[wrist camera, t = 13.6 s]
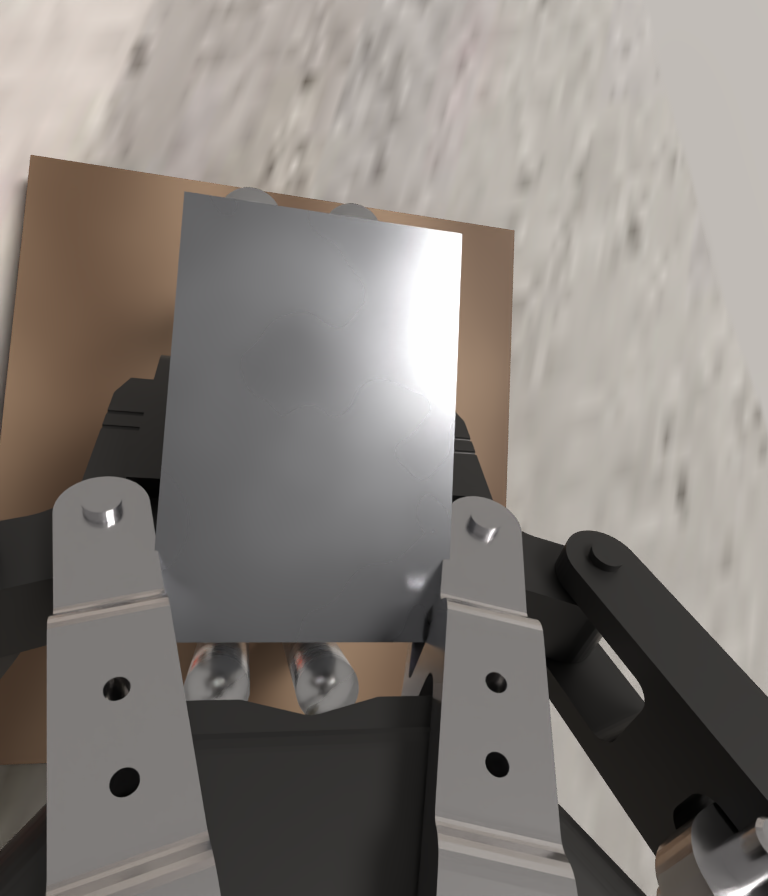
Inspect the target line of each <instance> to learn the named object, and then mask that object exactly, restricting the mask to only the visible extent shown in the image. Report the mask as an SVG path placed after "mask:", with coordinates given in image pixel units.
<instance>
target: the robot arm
mask: <svg viewBox="0 0 768 896" xmlns="http://www.w3.org/2000/svg"><path fill="white" fill-rule="evenodd" d="M170 358H171V356H167V355H161V356H160V359H159V362H158V366H157V369H156V373H155V376H154V380H153V379H142V378H130V379H129V380H128V381H126V382H125V383H124V384H123V385H122V386H121V387H119V388H118V389H117V390H116V391H115V392H114V393H113V396H112V399H111V402H110V404H109V407H108V412H107V413H106V415H105V418H104V421H103V424H102V428H101V429H100V432H99V435H98V437H97V440H96V443H95V446H94V448H93V451H92V454H91V457H90V460H89V462H88V465H87V468H86V471H85V473H84V476H83V479H82V481H81V482H79V483H76V484H75V485H73V486H71V487H69V488H68V489H67V490H65V491H64V492H63V493H62V494H61V495H60V496H59V497H58V499H57V500H56V502H55V504H54V507H53V508H51V509H49V510H46V511H43V512H40V513H37V514H33V515H29V516H23V517H18V518H12V519H7V520H1V521H0V679H1V678H2V676H3V675H4V674H5V673H6V671H7V670H8V669H9V667H10V666H11V665H12V664H13V662H14V661H15V660H16V658H17V657H18V655H19V654H20V652H24V651H27V650H31V649H35V648H38V647H42V646H46V645H47V803H46V804H45V805H44V806H43V807H42V808H41V809H40V810H39V811H38V812H37V813H36V814H35V816H34V817H33V818H32V819H31V820H30V821H29V822H28V823H27V824H26V825H25V826H24V827H23V828H22V829H21V830H20V831H19V832H18V833H17V834H16V835H15V836H14V837H13V838H12V839H11V840H10V841H9V842H8V844H7V845H6V846H5V847H4V848H3V849H2V850H1V851H0V896H646V895H645V893H644V892H643V891H642V890H641V889H640V888H639V887H638V886H637V885H636V884H635V883H634V882H633V881H632V880H631V879H630V878H629V877H628V876H627V875H626V874H625V873H624V872H623V871H622V870H621V868H620V867H619V866H618V865H617V864H616V863H615V862H614V861H613V860H612V859H611V858H610V857H609V856H608V855H607V854H606V853H605V852H604V851H603V850H602V849H601V848H600V847H599V846H598V844H597V843H596V842H595V841H594V840H593V839H592V838H591V837H590V836H589V835H588V834H587V833H586V832H585V831H584V830H583V829H582V828H581V827H580V826H579V825H578V824H577V823H576V822H575V820H574V819H573V818H572V817H571V816H570V815H569V814H568V813H567V812H566V811H565V810H564V809H563V808H562V807H561V806H560V805H559V804H558V798H557V787H556V775H555V763H554V752H553V740H552V728H551V717H550V705H549V699H550V701H551V702H552V703H553V705H554V706H555V708H556V709H557V711H558V712H559V714H560V715H561V717H562V718H563V720H564V721H565V723H566V724H567V726H568V727H569V729H570V730H571V732H572V733H573V735H574V736H575V738H576V739H577V741H578V742H579V743H580V745H581V746H582V748H583V749H584V751H585V752H586V754H587V755H588V757H589V758H590V760H591V761H592V763H593V764H594V766H595V767H596V769H597V770H598V772H599V773H600V775H601V776H602V778H603V779H604V781H605V782H606V784H607V785H608V786H609V788H610V789H611V791H612V792H613V794H614V795H615V797H616V798H617V800H618V801H619V803H620V804H621V806H622V807H623V809H624V810H625V812H626V813H627V815H628V816H629V818H630V819H631V821H632V822H633V824H634V825H635V826H636V828H637V829H638V831H639V832H640V834H641V835H642V837H643V838H644V840H645V841H646V843H647V844H648V846H649V847H650V849H651V850H652V852H653V853H654V855H655V856H656V859H655V870H656V877H657V881H658V885H659V887H658V889H657V896H768V697H767V696H766V695H765V694H764V692H763V691H762V690H761V689H760V688H759V687H758V686H757V685H756V684H755V683H754V682H753V681H752V680H751V679H750V677H749V676H748V675H747V674H746V673H745V672H744V671H743V670H742V669H741V668H740V667H739V666H738V665H737V664H736V662H735V661H734V660H733V659H732V658H731V657H730V656H729V655H728V654H727V653H726V652H725V651H724V650H723V649H722V647H721V646H720V645H719V644H718V643H717V642H716V641H715V640H714V639H713V638H712V637H711V636H710V635H709V634H708V632H707V631H706V630H705V629H704V628H703V627H702V626H701V625H700V624H699V623H698V622H697V621H696V620H695V619H694V617H693V616H692V615H691V614H690V613H689V612H688V611H687V610H686V609H685V608H684V607H683V606H682V605H681V604H680V602H679V601H678V600H677V599H676V598H675V597H674V596H673V595H672V594H671V593H670V592H669V591H668V590H667V589H666V587H665V586H664V585H663V584H662V583H661V582H660V581H659V580H658V579H657V578H656V577H655V576H654V575H653V574H652V572H651V571H650V570H649V569H648V568H647V567H646V566H645V565H644V564H643V563H642V562H641V561H640V560H639V559H638V557H637V556H636V555H635V554H634V553H633V552H632V551H631V550H630V549H629V548H628V547H627V546H625V545H624V544H623V543H622V542H620V541H618V540H617V539H615V538H613V537H611V536H609V535H607V534H604V533H601V532H597V531H580V532H577V533H575V534H573V535H572V536H571V537H570V538H569V539H568V541H567V542H566V544H565V546H564V545H561V544H557V543H554V542H551V541H547V540H544V539H541V538H537V537H534V536H532V535H529V534H527V533H524V532H522V531H521V527H520V524H519V522H518V520H517V519H516V517H515V516H514V515H513V514H512V513H511V512H510V511H509V510H508V509H507V508H505V507H504V506H503V505H501V504H499V503H497V502H495V501H493V499H492V496H491V493H490V490H489V488H488V485H487V482H486V479H485V477H484V474H483V471H482V468H481V466H480V463H479V460H478V457H477V455H475V449H474V446H473V444H472V441H470V435H469V433H468V430H467V427H466V424H465V421H464V420H463V419H462V418H461V417H460V416H459V415H458V414H457V413H456V412H455V434H454V461H453V487H452V514H451V540H450V559H443V562H442V566H441V571H440V575H439V580H438V585H437V589H436V594H435V598H434V603H433V612H432V619H431V624H430V629H429V633H428V637H427V640H426V642H408V647H407V655H406V664H405V672H404V681H403V688H402V694H401V696H385V697H375V698H372V699H368V700H365V701H361V702H358V703H355V704H351V705H348V706H344V707H341V708H337V709H334V710H331V711H327V712H324V713H320V714H316V715H305V714H300V713H296V712H291V711H287V710H283V709H279V708H274V707H270V706H266V705H261V704H257V703H253V702H248V701H244V700H240V699H239V700H190V701H186V698H185V692H184V686H183V680H182V674H181V668H180V662H179V656H178V650H177V644H176V638H175V632H174V626H173V620H172V614H171V608H170V603H169V598H168V594H167V593H165V590H164V585H163V578H162V572H161V566H160V560H159V554H158V551H154V550H155V538H156V526H157V514H158V502H159V490H160V478H161V466H162V454H163V442H164V430H165V418H166V406H167V394H168V382H169V370H170ZM602 637H603V638H604V639H605V640H606V641H607V643H608V644H609V645H610V646H611V648H612V649H613V650H614V651H615V653H616V654H617V655H618V656H619V658H620V659H621V660H622V662H623V663H624V664H625V665H626V667H627V668H628V669H629V670H630V672H631V673H632V674H633V675H634V677H635V678H636V679H637V681H638V682H639V684H640V686H641V688H642V690H643V693H644V698H645V702H644V701H643V700H642V698H641V697H640V696H639V695H638V693H637V692H636V691H635V689H634V688H633V687H632V686H631V684H630V683H629V682H628V680H627V679H626V678H625V677H624V675H623V674H622V673H621V672H620V670H619V669H618V668H617V666H616V665H615V664H614V663H613V661H612V660H611V659H610V657H609V656H608V655H607V654H606V652H605V651H604V650H603V649H602V647H601V646H600V645H599V643H598V642H599V641H600V639H601V638H602Z"/></svg>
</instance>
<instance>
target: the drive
mask: <svg viewBox="0 0 768 896" xmlns="http://www.w3.org/2000/svg"><path fill="white" fill-rule="evenodd" d="M461 250H462V234H460V233H454V232H447V231H441V230H434V229H428V228H421V227H415V226H408V225H402V224H395V223H389V222H382V221H375V220H369V219H362V218H356V217H349V216H343V215H336V214H330V213H323V212H317V211H310V210H303V209H297V208H290V207H284V206H277V205H271V204H264V203H258V202H251V201H245V200H238V199H231V198H225V197H218V196H212V195H205V194H199V193H192V192H186V191H184V202H183V214H182V226H181V238H180V250H179V262H178V274H177V286H176V298H175V310H174V322H173V334H172V346H171V358H170V370H169V382H168V394H167V406H166V418H165V430H164V442H163V454H162V466H161V478H160V490H159V502H158V514H157V526H156V538H155V550H154V551H158V554H159V560H160V566H161V572H162V578H163V585H164V590H165V593H167V594H168V598H169V603H170V608H171V614H172V620H173V626H174V632H175V638H176V643H219V642H426V640H427V637H428V633H429V629H430V624H431V619H432V612H433V603H434V598H435V594H436V589H437V585H438V580H439V575H440V571H441V566H442V562H443V559H450V540H451V514H452V487H453V461H454V434H455V408H456V382H457V355H458V329H459V302H460V276H461Z"/></svg>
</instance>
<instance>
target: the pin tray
mask: <svg viewBox="0 0 768 896" xmlns="http://www.w3.org/2000/svg"><path fill="white" fill-rule="evenodd" d="M184 191H186V192H192V193H199V194H205V195H212V196H218V197H225V198H231V199H238V200H245V201H251V202H258V203H264V204H271V205H277V206H284V207H290V208H297V209H303V210H310V211H317V212H323V213H330V214H336V215H343V216H349V217H356V218H362V219H369V220H375V221H382V222H389V223H395V224H402V225H408V226H415V227H421V228H428V229H434V230H441V231H447V232H454V233H460V234H462V250H461V276H460V302H459V329H458V355H457V382H456V408H455V412H456V413H457V414H458V415H459V416H460V417H461V418H462V419H463V420H464V421H465V424H466V427H467V430H468V433H469V435H470V441H472V444H473V446H474V449H475V455H477V457H478V460H479V463H480V466H481V468H482V471H483V474H484V477H485V479H486V482H487V485H488V488H489V490H490V493H491V496H492V499H493V501H495V502H497V503H499V504H501V505H503V506H504V507H505V508H506V489H507V457H508V424H509V392H510V359H511V327H512V294H513V262H514V230H508V229H502V228H495V227H489V226H483V225H476V224H470V223H463V222H457V221H451V220H444V219H438V218H431V217H425V216H419V215H412V214H406V213H399V212H393V211H387V210H380V209H374V208H367V207H364V206H361V205H358V204H353V203H348V204H342V203H335V202H329V201H323V200H316V199H310V198H303V197H297V196H291V195H284V194H278V193H272V192H265V191H262V190H259V189H257V188H251V187H244V188H240V187H233V186H227V185H220V184H214V183H208V182H201V181H195V180H188V179H182V178H176V177H169V176H163V175H156V174H150V173H144V172H137V171H131V170H124V169H118V168H112V167H105V166H99V165H92V164H86V163H80V162H73V161H67V160H60V159H54V158H48V157H41V156H35V155H31V157H30V166H29V175H28V185H27V194H26V203H25V213H24V222H23V231H22V241H21V250H20V259H19V269H18V278H17V288H16V297H15V306H14V316H13V325H12V334H11V344H10V353H9V362H8V372H7V381H6V390H5V400H4V409H3V418H2V428H1V437H0V521H1V520H7V519H12V518H18V517H23V516H29V515H33V514H37V513H40V512H43V511H46V510H49V509H51V508H53V507H54V504H55V502H56V500H57V499H58V497H59V496H60V495H61V494H62V493H63V492H64V491H65V490H67V489H68V488H69V487H71V486H73V485H75V484H76V483H79V482H81V481H82V479H83V476H84V473H85V471H86V468H87V465H88V462H89V460H90V457H91V454H92V451H93V448H94V446H95V443H96V440H97V437H98V435H99V432H100V429H101V428H102V424H103V421H104V418H105V415H106V413H107V412H108V407H109V404H110V402H111V399H112V396H113V393H114V392H115V391H116V390H117V389H118V388H119V387H121V386H122V385H123V384H124V383H125V382H126V381H128V380H129V379H130V378H142V379H153V380H154V376H155V373H156V369H157V366H158V362H159V359H160V356H161V355H167V356H171V346H172V334H173V322H174V310H175V298H176V286H177V274H178V262H179V250H180V238H181V226H182V214H183V202H184ZM176 644H177V650H178V656H179V662H180V668H181V674H182V680H183V686H184V692H185V698H186V701H190V700H239V699H240V700H244V701H248V702H253V703H257V704H261V705H266V706H270V707H274V708H279V709H283V710H287V711H291V712H296V713H300V714H305V715H316V714H320V713H324V712H327V711H331V710H334V709H337V708H341V707H344V706H348V705H351V704H355V703H358V702H361V701H365V700H368V699H372V698H375V697H385V696H401V694H402V688H403V681H404V672H405V664H406V655H407V647H408V642H219V643H176ZM34 763H47V645H46V646H42V647H38V648H35V649H31V650H27V651H24V652H20V654H19V655H18V657H17V658H16V660H15V661H14V662H13V664H12V665H11V666H10V667H9V669H8V670H7V671H6V673H5V674H4V675H3V676H2V678H1V679H0V765H9V764H34Z"/></svg>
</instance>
